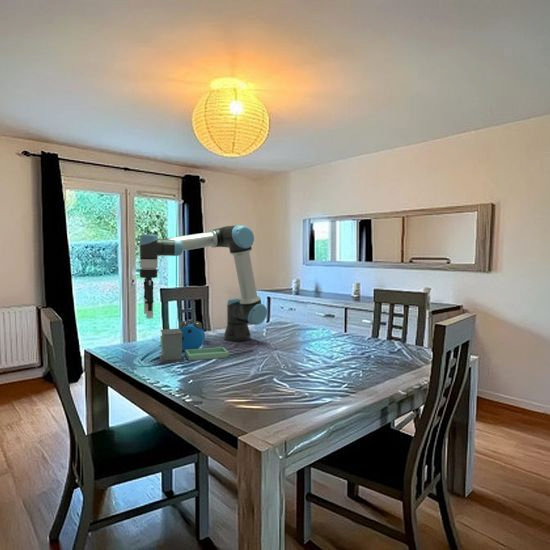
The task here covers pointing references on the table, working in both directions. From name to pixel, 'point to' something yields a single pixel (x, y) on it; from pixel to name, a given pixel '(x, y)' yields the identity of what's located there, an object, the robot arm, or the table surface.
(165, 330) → the box
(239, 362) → the table surface
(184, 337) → the alarm clock
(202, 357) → the green tray
